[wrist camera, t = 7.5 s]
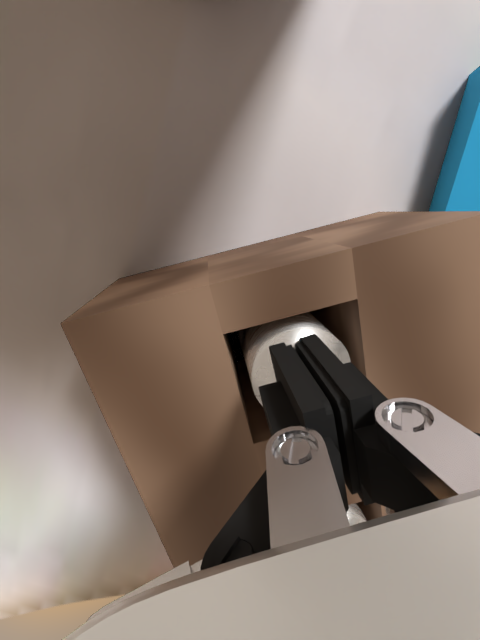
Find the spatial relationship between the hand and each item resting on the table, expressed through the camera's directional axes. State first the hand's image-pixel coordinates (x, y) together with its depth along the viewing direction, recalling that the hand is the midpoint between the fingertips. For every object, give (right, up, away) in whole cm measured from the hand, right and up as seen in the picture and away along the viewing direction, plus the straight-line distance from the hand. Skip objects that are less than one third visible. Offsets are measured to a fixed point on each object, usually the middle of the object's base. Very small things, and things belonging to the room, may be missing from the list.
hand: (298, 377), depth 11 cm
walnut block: (0, -2, +8) cm, 8 cm away
